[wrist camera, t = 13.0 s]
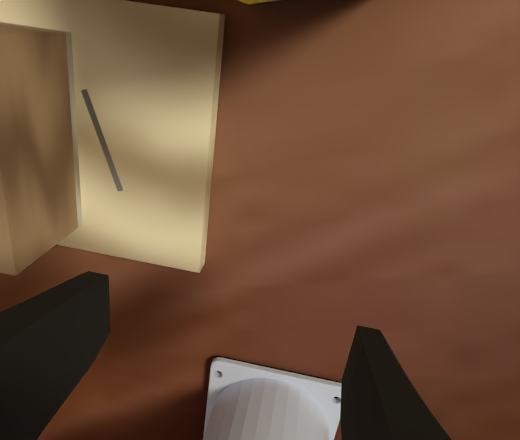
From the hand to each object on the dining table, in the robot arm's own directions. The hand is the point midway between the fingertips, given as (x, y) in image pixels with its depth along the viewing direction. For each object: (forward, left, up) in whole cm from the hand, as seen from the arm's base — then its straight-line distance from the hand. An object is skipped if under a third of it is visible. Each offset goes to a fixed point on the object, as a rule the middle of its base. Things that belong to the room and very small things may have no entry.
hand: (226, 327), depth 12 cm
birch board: (+2, +12, -9) cm, 15 cm away
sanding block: (+2, +12, -8) cm, 14 cm away
